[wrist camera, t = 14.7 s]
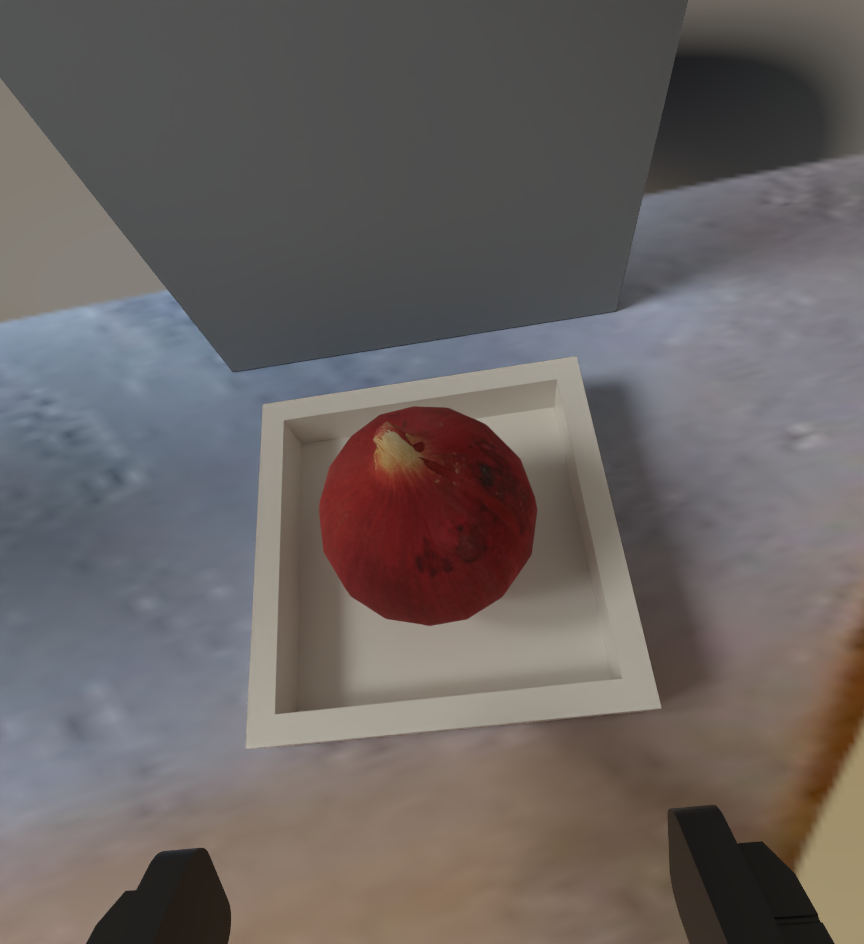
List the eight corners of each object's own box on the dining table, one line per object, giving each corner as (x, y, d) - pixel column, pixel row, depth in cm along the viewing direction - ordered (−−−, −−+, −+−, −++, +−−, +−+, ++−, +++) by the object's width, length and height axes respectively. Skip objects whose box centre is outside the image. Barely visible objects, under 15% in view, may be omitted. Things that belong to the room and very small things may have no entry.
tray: (643, 711, 17) (661, 708, 14) (277, 747, 18) (245, 748, 15) (570, 392, 21) (576, 356, 19) (286, 434, 22) (262, 404, 20)
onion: (539, 484, 19) (557, 338, 12) (521, 658, 17) (529, 604, 10) (376, 466, 20) (304, 322, 13) (339, 628, 18) (227, 559, 11)
